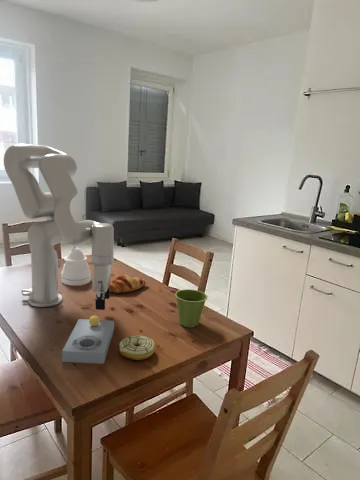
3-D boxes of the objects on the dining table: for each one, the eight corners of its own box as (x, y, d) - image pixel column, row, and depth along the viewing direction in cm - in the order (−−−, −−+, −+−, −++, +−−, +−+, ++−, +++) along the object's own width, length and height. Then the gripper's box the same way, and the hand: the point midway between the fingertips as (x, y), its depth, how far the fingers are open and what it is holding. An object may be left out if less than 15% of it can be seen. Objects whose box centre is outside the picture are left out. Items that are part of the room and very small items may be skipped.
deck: (78, 328, 122) (78, 319, 121) (113, 330, 122) (114, 320, 121) (62, 361, 102) (61, 351, 101) (103, 363, 103) (104, 353, 102)
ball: (87, 327, 115) (88, 318, 115) (90, 322, 119) (90, 313, 118) (98, 328, 116) (98, 318, 115) (100, 323, 119) (100, 314, 118)
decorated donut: (123, 341, 114) (124, 330, 113) (155, 345, 114) (157, 335, 113) (115, 359, 104) (116, 347, 103) (151, 364, 104) (152, 352, 103)
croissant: (143, 291, 166) (139, 274, 167) (154, 286, 158) (150, 269, 160) (101, 298, 152) (98, 280, 154) (111, 293, 145) (107, 275, 146)
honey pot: (55, 282, 160) (54, 244, 156) (77, 275, 170) (78, 239, 166) (73, 290, 153) (73, 250, 149) (96, 282, 164) (97, 245, 159)
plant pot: (210, 328, 129) (213, 299, 126) (181, 333, 124) (184, 303, 121) (195, 314, 139) (197, 287, 136) (167, 318, 134) (169, 290, 131)
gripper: (96, 251, 133) (96, 294, 137) (86, 265, 116) (87, 313, 120) (116, 252, 133) (116, 295, 137) (109, 266, 116) (109, 314, 120)
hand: (102, 303), depth 128 cm, fingers open, 9 cm apart
